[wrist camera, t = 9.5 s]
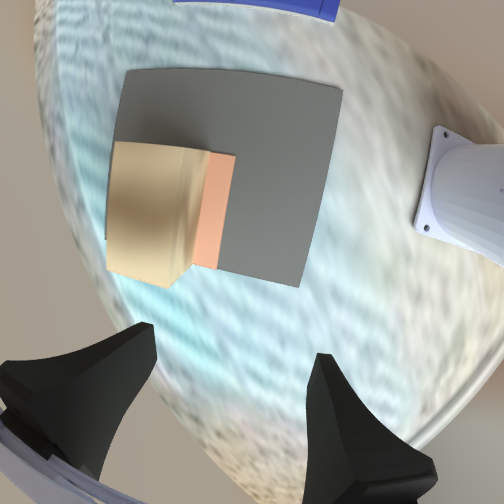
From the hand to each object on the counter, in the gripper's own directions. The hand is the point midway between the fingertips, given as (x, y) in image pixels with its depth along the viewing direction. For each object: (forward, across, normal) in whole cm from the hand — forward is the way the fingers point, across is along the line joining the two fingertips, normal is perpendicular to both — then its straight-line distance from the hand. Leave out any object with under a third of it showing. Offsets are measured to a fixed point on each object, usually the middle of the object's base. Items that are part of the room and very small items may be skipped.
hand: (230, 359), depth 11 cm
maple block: (+9, +7, -5) cm, 12 cm away
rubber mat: (+9, +4, -7) cm, 13 cm away
